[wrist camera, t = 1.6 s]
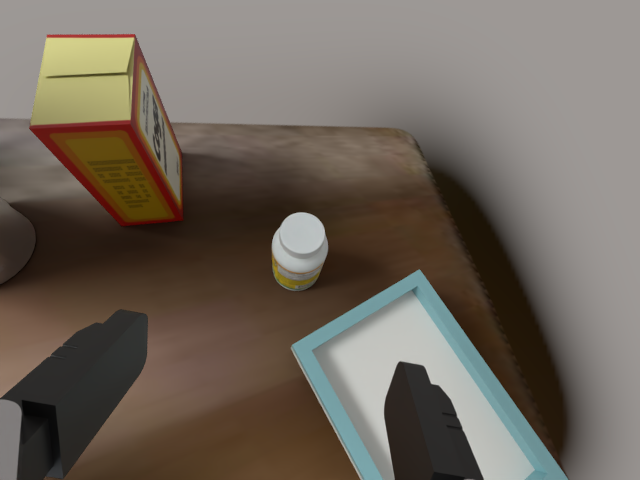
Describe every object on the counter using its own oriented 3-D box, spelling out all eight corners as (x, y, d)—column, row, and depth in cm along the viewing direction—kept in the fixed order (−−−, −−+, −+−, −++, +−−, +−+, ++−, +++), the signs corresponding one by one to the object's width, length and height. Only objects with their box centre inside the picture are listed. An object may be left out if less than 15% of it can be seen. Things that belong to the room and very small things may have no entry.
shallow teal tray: (289, 352, 35) (292, 344, 29) (397, 287, 39) (419, 269, 33) (403, 566, 29) (435, 611, 23) (516, 463, 33) (568, 479, 27)
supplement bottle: (307, 299, 37) (317, 272, 28) (263, 279, 37) (259, 245, 29) (327, 258, 39) (342, 220, 31) (285, 238, 40) (288, 196, 31)
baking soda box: (183, 220, 39) (128, 120, 25) (121, 226, 38) (25, 124, 23) (181, 152, 43) (133, 30, 28) (125, 156, 41) (44, 30, 27)
